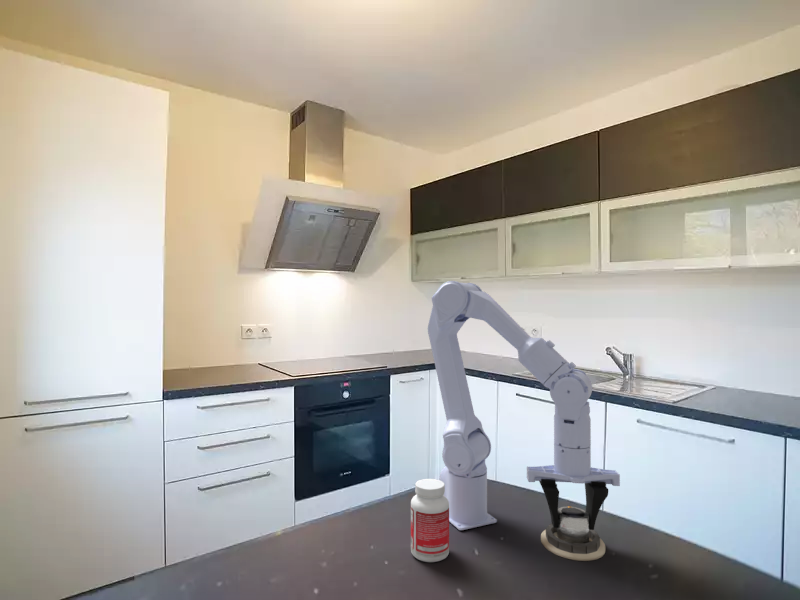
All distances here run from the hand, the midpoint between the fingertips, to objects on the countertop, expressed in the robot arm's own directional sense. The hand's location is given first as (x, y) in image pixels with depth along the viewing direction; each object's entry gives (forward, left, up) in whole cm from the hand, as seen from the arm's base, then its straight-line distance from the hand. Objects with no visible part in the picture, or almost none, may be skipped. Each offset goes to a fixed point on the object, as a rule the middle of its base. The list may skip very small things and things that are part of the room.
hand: (572, 526), depth 76 cm
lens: (0, 0, -2) cm, 2 cm away
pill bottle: (-7, -23, -3) cm, 24 cm away
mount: (0, 0, -3) cm, 3 cm away
